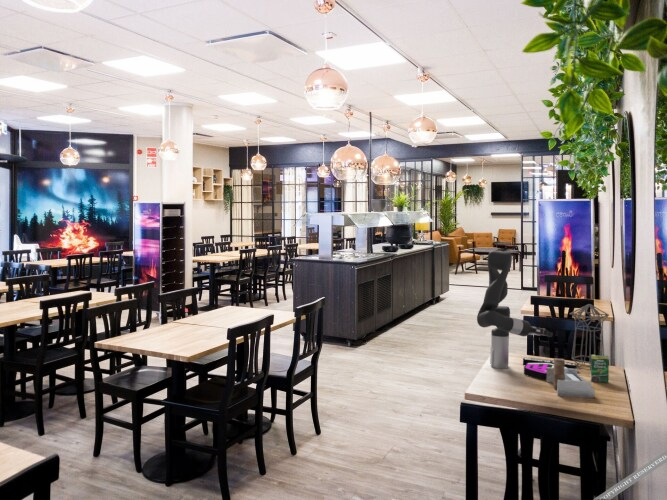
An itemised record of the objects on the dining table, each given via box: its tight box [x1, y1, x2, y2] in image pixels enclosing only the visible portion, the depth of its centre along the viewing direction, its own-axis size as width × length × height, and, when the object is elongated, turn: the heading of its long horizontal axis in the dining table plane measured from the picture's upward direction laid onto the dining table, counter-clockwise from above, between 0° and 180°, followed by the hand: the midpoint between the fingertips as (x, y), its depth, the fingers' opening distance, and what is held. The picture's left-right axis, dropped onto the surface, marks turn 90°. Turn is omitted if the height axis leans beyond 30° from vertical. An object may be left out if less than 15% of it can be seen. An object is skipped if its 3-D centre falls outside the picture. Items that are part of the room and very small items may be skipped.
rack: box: [545, 367, 595, 399], centre depth 250 cm, size 16×23×7 cm
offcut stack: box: [565, 374, 580, 381], centre depth 250 cm, size 4×12×6 cm, turn 173°
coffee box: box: [590, 354, 610, 384], centre depth 263 cm, size 8×3×13 cm, turn 67°
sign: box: [522, 357, 578, 381], centre depth 279 cm, size 27×4×30 cm
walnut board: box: [552, 357, 566, 390], centre depth 251 cm, size 4×3×14 cm
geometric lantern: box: [569, 303, 610, 371], centre depth 288 cm, size 16×16×35 cm
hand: (546, 334), depth 256 cm, fingers open, 8 cm apart
